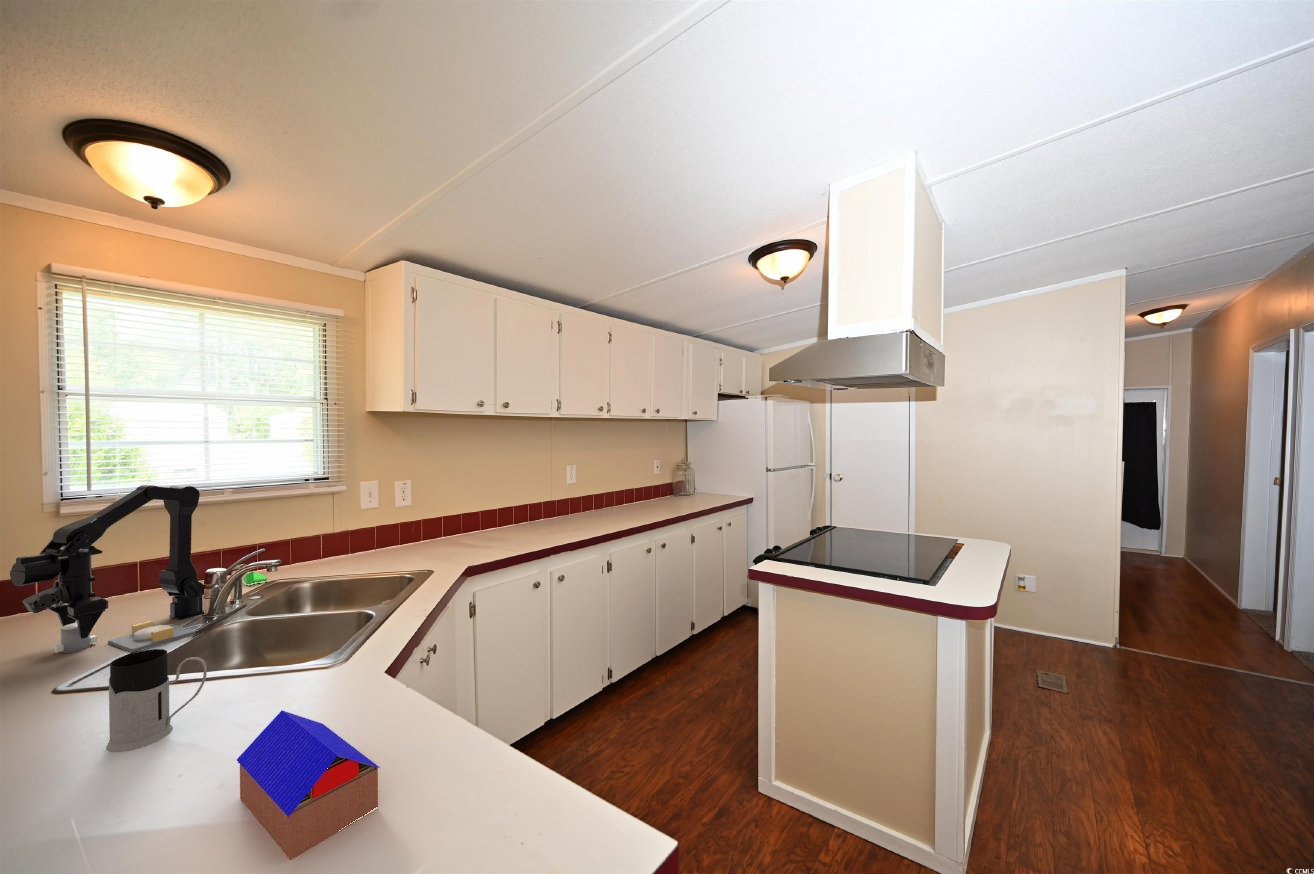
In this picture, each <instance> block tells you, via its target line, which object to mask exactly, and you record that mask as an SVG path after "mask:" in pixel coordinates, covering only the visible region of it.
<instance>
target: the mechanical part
mask: <svg viewBox="0 0 1314 874" xmlns="http://www.w3.org/2000/svg"><path fill="white" fill-rule="evenodd" d="M254 573H255V574H254ZM266 580H267V581H268V578H267V576H264V574H261V573H257V572H255V571H254V572H251V573H249V574H247V575H246V576H245V577H244V582H245V583H246V584H251V583H255V582H261V581H266Z"/></svg>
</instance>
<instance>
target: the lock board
mask: <svg viewBox="0 0 1314 874" xmlns="http://www.w3.org/2000/svg"><path fill="white" fill-rule="evenodd" d="M154 624H155V621H154V620H147V621H144V622H143V621H142V622H140V623H136V624H132V625H131V634H127V635H123V636H119V637H115V638H112V639H109V640H107V644H108V645H111V646H114V647H116V648H119V649H122V650H124V651H126V650H127V652H129V651H130V652H129V653H132V652H133V653H135V652H136V651H137V652H140V651H143V650H147V649H150V648H153V647H156V646H159V645H160V646H161V645H163V644H166V643H171V642H174V641H177V640H180V639H183V638H187V637H191V636H194V635H196V630H193V629H190V628H186V627H184V626H180V625H176V624H173V623H168V624H163V625H162V624H161V625H159V624H158V625H154ZM146 648H147V649H146ZM142 649H143V650H142ZM139 650H140V651H139Z"/></svg>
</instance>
